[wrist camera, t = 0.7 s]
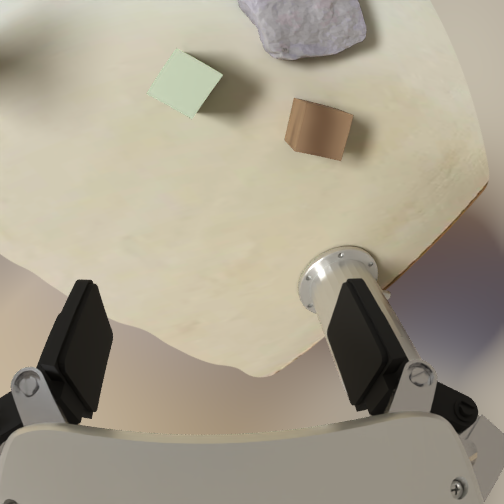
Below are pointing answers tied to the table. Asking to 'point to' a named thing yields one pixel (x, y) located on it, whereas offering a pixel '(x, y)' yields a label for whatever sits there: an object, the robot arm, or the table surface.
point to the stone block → (306, 26)
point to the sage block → (184, 83)
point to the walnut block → (318, 129)
